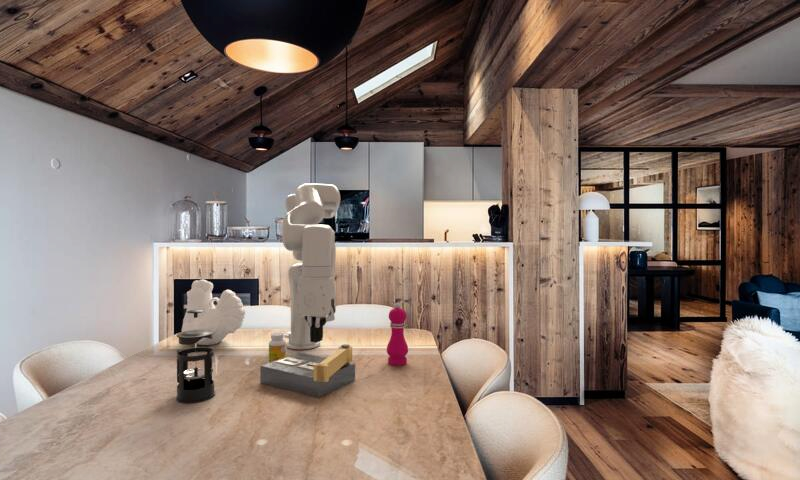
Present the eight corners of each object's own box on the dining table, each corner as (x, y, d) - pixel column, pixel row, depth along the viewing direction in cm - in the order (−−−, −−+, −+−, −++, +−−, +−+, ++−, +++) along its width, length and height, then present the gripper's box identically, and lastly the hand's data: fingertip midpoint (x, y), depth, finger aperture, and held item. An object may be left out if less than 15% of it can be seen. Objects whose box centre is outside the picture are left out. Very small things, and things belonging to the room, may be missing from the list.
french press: (224, 393, 117) (224, 308, 116) (194, 406, 108) (194, 314, 108) (194, 386, 122) (194, 305, 121) (163, 398, 113) (163, 310, 113)
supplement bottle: (265, 364, 143) (265, 335, 142) (275, 360, 148) (275, 331, 147) (278, 366, 141) (278, 336, 140) (288, 361, 146) (288, 333, 145)
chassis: (260, 382, 125) (260, 364, 125) (299, 368, 139) (299, 351, 139) (318, 398, 114) (318, 377, 114) (355, 380, 128) (355, 362, 128)
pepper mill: (408, 360, 148) (409, 301, 148) (407, 366, 141) (407, 305, 141) (388, 359, 149) (388, 301, 148) (385, 365, 142) (385, 304, 141)
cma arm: (341, 360, 129) (341, 343, 129) (354, 361, 129) (354, 344, 128) (313, 383, 110) (313, 363, 110) (327, 384, 109) (327, 364, 109)
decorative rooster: (172, 345, 166) (171, 280, 165) (206, 336, 180) (206, 276, 179) (220, 353, 155) (219, 284, 154) (252, 343, 169) (252, 280, 169)
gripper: (284, 271, 114) (284, 341, 115) (332, 275, 107) (331, 348, 108) (302, 269, 121) (302, 334, 121) (348, 272, 114) (348, 341, 115)
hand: (316, 341), depth 115 cm, fingers closed
